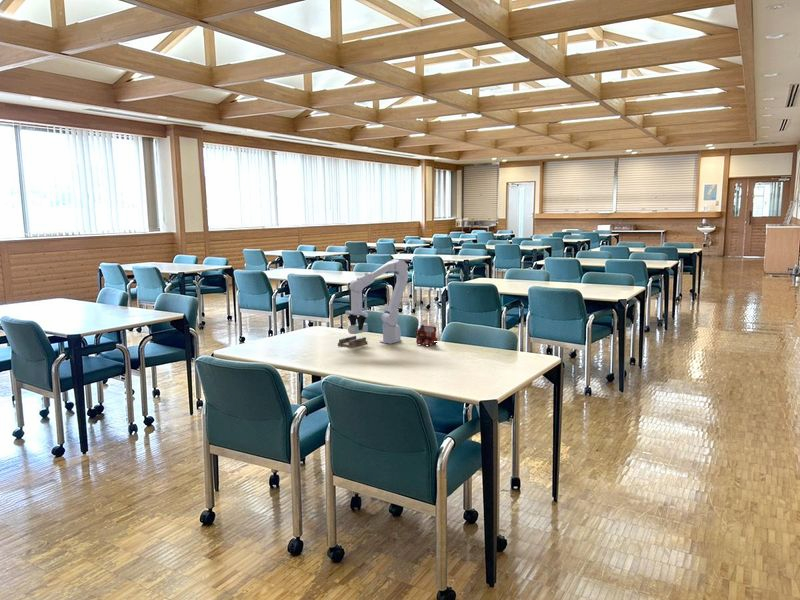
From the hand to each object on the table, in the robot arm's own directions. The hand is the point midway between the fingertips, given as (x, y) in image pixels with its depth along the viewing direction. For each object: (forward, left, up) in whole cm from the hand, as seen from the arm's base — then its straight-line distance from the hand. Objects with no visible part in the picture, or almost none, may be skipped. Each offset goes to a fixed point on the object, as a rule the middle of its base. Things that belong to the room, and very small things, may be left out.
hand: (357, 329), depth 306 cm
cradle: (0, -4, -9) cm, 9 cm away
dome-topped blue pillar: (0, 0, -2) cm, 2 cm away
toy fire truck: (-22, +28, -9) cm, 37 cm away
